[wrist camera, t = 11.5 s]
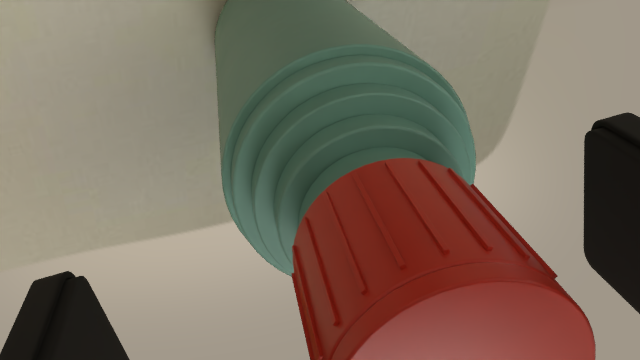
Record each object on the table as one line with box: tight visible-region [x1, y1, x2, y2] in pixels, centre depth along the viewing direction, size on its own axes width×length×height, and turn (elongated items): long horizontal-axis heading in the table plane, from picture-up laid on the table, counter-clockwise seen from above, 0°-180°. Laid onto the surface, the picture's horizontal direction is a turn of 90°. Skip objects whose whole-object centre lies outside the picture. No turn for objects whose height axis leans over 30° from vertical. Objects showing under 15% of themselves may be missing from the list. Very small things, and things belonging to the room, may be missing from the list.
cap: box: [291, 158, 595, 360], centre depth 10 cm, size 4×4×4 cm
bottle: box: [215, 0, 476, 277], centre depth 17 cm, size 6×6×20 cm
